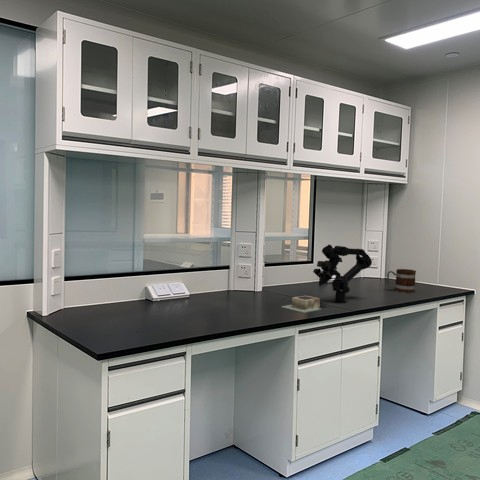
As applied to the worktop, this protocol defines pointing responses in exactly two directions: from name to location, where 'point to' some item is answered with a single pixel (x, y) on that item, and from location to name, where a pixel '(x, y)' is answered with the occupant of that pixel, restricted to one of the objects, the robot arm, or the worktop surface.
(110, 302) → the worktop surface
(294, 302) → the birch block
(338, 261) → the robot arm
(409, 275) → the mug
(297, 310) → the mat
